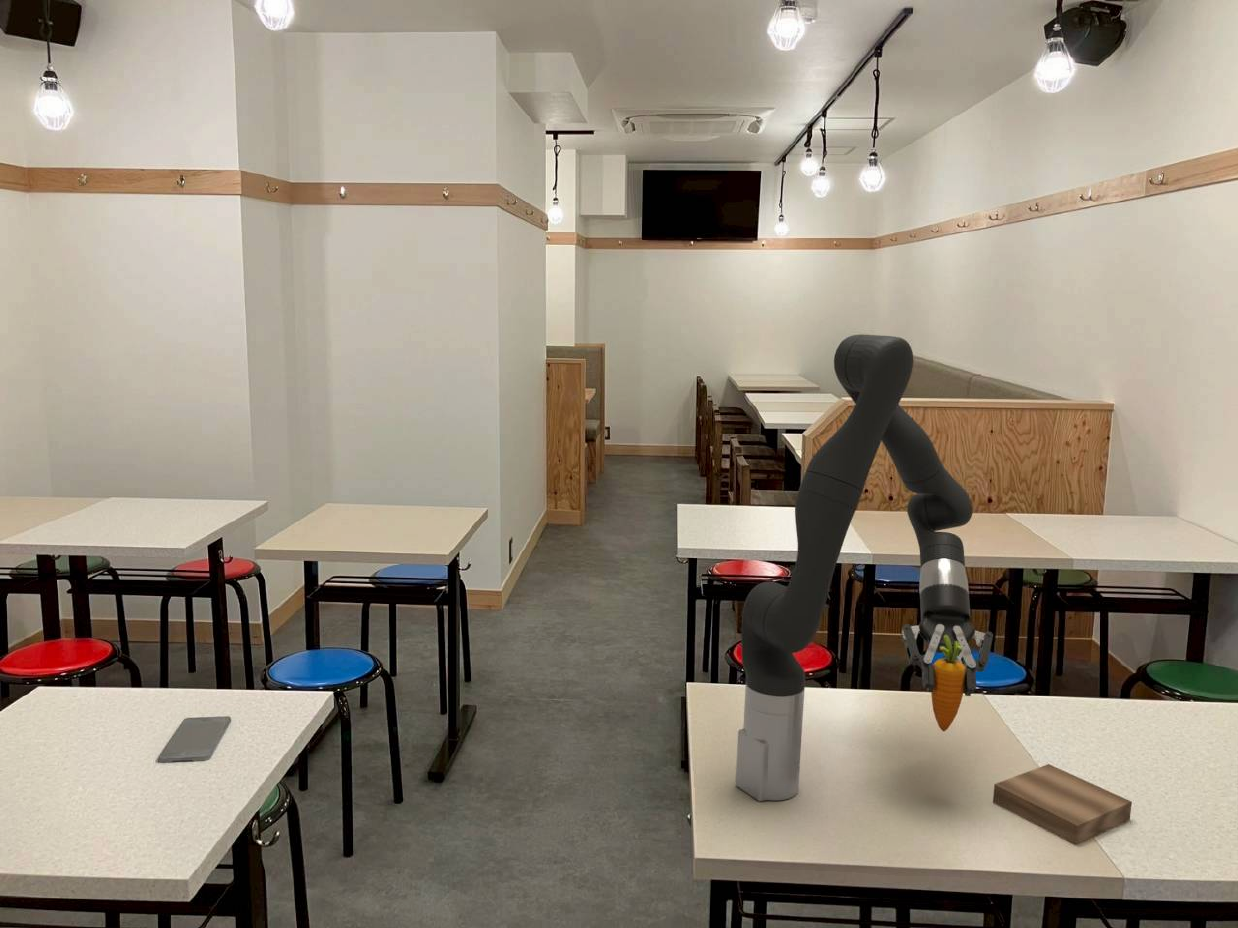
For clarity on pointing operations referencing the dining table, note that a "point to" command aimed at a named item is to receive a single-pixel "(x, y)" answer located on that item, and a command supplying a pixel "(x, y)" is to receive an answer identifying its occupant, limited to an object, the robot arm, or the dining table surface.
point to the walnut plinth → (1062, 803)
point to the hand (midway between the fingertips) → (949, 691)
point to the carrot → (948, 685)
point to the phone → (195, 739)
